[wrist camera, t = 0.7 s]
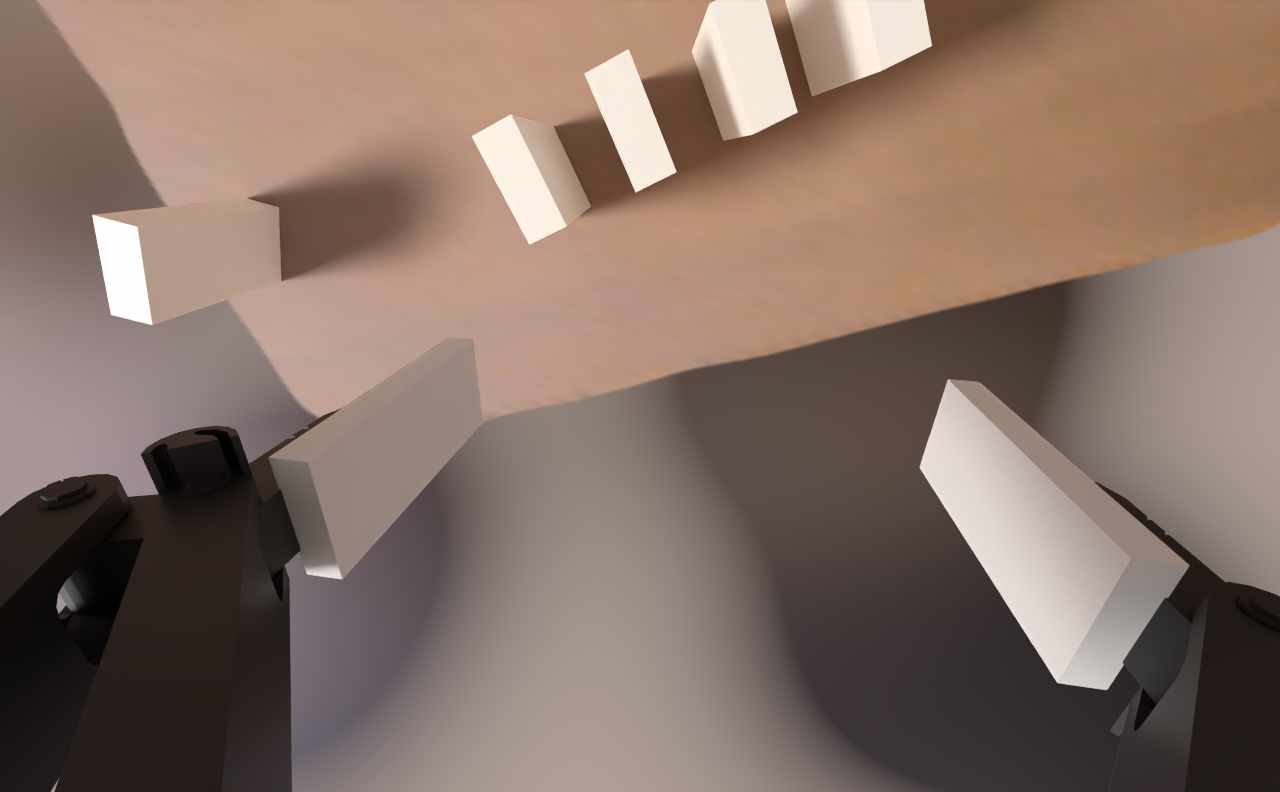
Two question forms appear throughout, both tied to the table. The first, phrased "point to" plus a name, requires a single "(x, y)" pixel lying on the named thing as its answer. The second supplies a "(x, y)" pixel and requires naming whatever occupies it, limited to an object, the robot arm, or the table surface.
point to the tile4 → (742, 68)
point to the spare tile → (186, 256)
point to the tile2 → (532, 175)
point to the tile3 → (631, 121)
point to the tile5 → (855, 37)
